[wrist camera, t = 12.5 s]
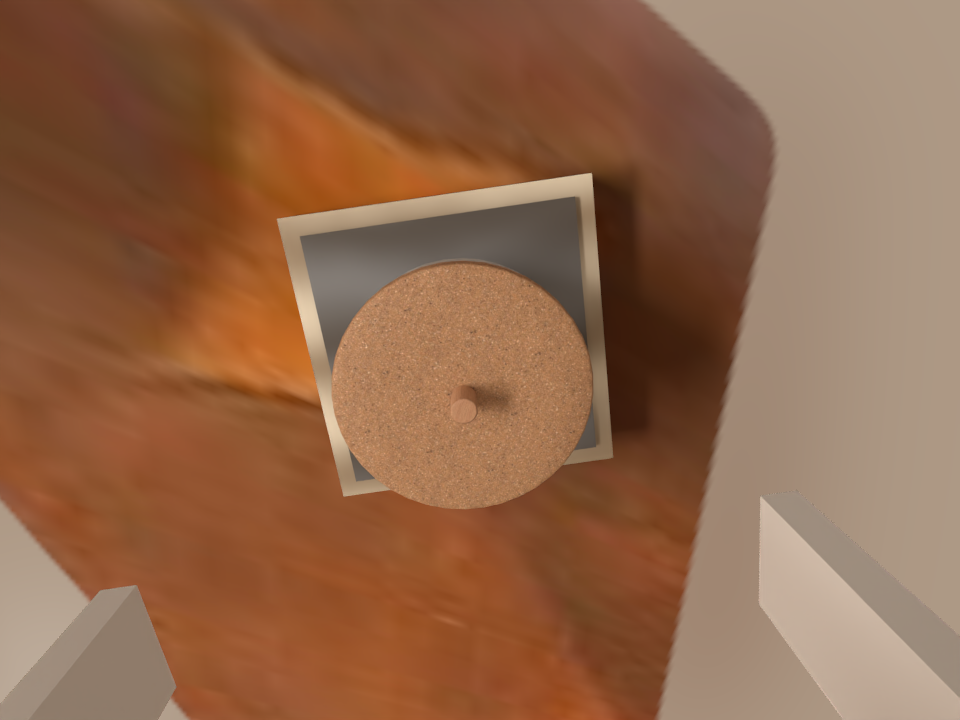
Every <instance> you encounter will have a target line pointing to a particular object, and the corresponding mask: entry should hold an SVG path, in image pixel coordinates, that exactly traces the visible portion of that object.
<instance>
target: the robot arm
mask: <svg viewBox="0 0 960 720" xmlns="http://www.w3.org/2000/svg"><path fill="white" fill-rule="evenodd" d="M759 563H760V564H759V605H760V606H761V607H762V609H763V610H764V611H765V613H766V614H767V616H768V617H769V618H770V620H771V621H772V622H773V624H774V625H775V627H776V628H777V629H778V631H779V632H780V634H781V635H782V636H783V637H784V639H785V640H786V642H787V643H788V645H789V646H790V647H791V649H792V650H793V651H794V653H795V654H796V655H797V657H798V658H799V660H800V661H801V663H802V664H803V665H804V667H805V668H806V669H807V671H808V672H809V673H810V675H811V676H812V678H813V679H814V680H815V681H816V683H817V685H818V686H819V687H820V689H821V690H822V691H823V693H824V694H825V696H826V697H827V698H828V700H829V701H830V702H831V704H832V705H833V707H834V708H835V709H836V711H837V712H838V714H839V715H840V716H841V718H842V719H843V720H960V636H959V635H958V634H957V633H956V632H955V631H954V630H953V629H952V628H950V627H949V626H948V625H947V624H946V623H945V622H944V621H943V620H941V618H939V617H938V616H937V615H936V614H935V613H934V612H933V611H932V610H930V609H929V608H928V607H927V606H926V605H925V604H924V603H923V602H921V601H920V600H919V599H918V598H917V597H916V596H915V595H914V594H912V593H911V592H910V591H909V590H908V589H907V588H906V587H905V586H904V585H902V584H901V583H900V582H899V581H898V580H897V579H896V578H894V577H893V576H892V575H891V574H890V573H889V572H888V571H887V570H886V569H884V568H883V567H882V566H881V565H880V564H879V563H878V562H877V561H875V560H874V559H873V558H872V557H871V556H870V555H869V554H868V553H866V552H865V551H864V550H863V549H862V548H861V547H860V546H859V545H857V544H856V543H855V542H854V541H853V540H852V539H851V538H850V537H849V536H847V535H846V534H845V533H844V532H843V531H842V530H841V529H840V528H838V527H837V526H836V525H835V524H834V523H833V522H832V521H831V520H829V519H828V518H827V517H826V516H825V515H824V514H823V513H822V512H820V511H819V510H818V509H817V508H816V507H815V506H814V505H813V504H811V503H810V502H809V501H808V500H807V499H806V498H805V497H804V496H803V495H801V494H800V493H799V492H798V491H790V492H783V493H776V494H769V495H762V496H761V498H760V560H759ZM175 688H176V685H175V682H174V679H173V677H172V674H171V672H170V669H169V667H168V664H167V662H166V659H165V656H164V654H163V651H162V649H161V646H160V644H159V641H158V638H157V636H156V633H155V631H154V628H153V626H152V623H151V621H150V618H149V615H148V613H147V610H146V608H145V605H144V603H143V600H142V598H141V595H140V592H139V590H138V587H137V585H135V586H128V587H121V588H114V589H107V590H100V591H99V593H98V594H97V595H96V596H95V597H94V598H93V599H92V600H91V602H90V603H89V604H88V605H87V606H86V607H85V609H84V610H83V611H82V612H81V613H80V614H79V615H78V616H77V618H76V619H75V620H74V621H73V622H72V623H71V624H70V625H69V626H68V628H67V629H66V630H65V631H64V632H63V633H62V634H61V636H60V637H59V638H58V639H57V640H56V641H55V642H54V644H53V645H52V646H51V647H50V648H49V649H48V650H47V651H46V653H45V654H44V655H43V656H42V657H41V658H40V659H39V660H38V662H37V663H36V664H35V665H34V666H33V667H32V668H31V669H30V671H29V672H28V673H27V674H26V675H25V676H24V677H23V679H22V680H21V681H20V682H19V683H18V684H17V685H16V687H15V688H14V689H13V690H12V691H11V692H10V693H9V694H8V696H7V697H6V698H5V699H4V700H3V701H2V702H1V703H0V720H158V719H159V717H160V715H161V713H162V711H163V710H164V708H165V706H166V704H167V703H168V701H169V699H170V697H171V696H172V694H173V692H174V690H175Z"/></svg>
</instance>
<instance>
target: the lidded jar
mask: <svg viewBox="0 0 960 720" xmlns="http://www.w3.org/2000/svg"><path fill="white" fill-rule="evenodd" d="M592 399H593V371H592V365H591V360H590V355H589V352H588V349H587V346H586V344H585V341H584V338H583V336H582V334H581V332H580V330H579V329H578V327H577V325H576V323H575V322H574V320H573V318H572V317H571V316H570V315H569V313H568V312H567V311H566V310H565V308H564V307H563V306H562V305H561V304H560V302H559V301H558V300H557V299H556V298H554V297H553V296H552V295H551V294H550V293H549V292H548V291H547V290H545V289H544V288H543V287H542V286H540V285H539V284H537V283H536V282H534V281H532V280H531V279H529V278H528V277H526V276H524V275H522V274H521V273H519V272H517V271H515V270H513V269H510V268H508V267H506V266H503V265H501V264H498V263H493V262H489V261H485V260H480V259H468V258H457V259H444V260H440V261H436V262H431V263H427V264H424V265H422V266H419V267H417V268H414V269H412V270H410V271H407V272H406V273H404V274H403V275H401V276H399V277H398V278H396V279H395V280H393V281H392V282H390V283H388V284H387V285H385V286H384V287H382V288H381V289H380V290H379V291H378V292H377V293H376V294H374V295H373V296H372V297H371V298H370V299H369V300H368V301H367V302H366V303H365V304H364V305H363V307H362V308H361V309H360V310H359V312H358V313H357V314H356V315H355V316H354V318H353V319H352V321H351V322H350V324H349V326H348V328H347V330H346V331H345V333H344V335H343V337H342V339H341V342H340V344H339V347H338V350H337V353H336V355H335V360H334V366H333V371H332V401H333V408H334V414H335V417H336V420H337V423H338V426H339V429H340V432H341V434H342V436H343V438H344V440H345V442H346V444H347V445H348V447H349V449H350V451H351V452H352V453H353V455H354V456H355V457H356V459H357V460H358V461H359V463H360V464H361V465H362V466H363V467H364V468H365V469H366V470H367V471H368V472H369V473H370V474H371V475H372V476H373V477H374V478H375V479H377V480H378V481H380V482H381V483H382V484H384V485H385V486H386V487H388V488H389V489H391V490H393V491H395V492H397V493H399V494H400V495H402V496H404V497H406V498H409V499H411V500H414V501H417V502H420V503H423V504H426V505H431V506H436V507H441V508H452V509H472V508H483V507H488V506H492V505H496V504H501V503H504V502H507V501H509V500H512V499H514V498H517V497H520V496H522V495H523V494H525V493H527V492H529V491H531V490H532V489H534V488H536V487H538V486H539V485H540V484H541V483H543V482H544V481H545V480H547V479H548V478H549V477H551V476H552V475H553V474H554V473H555V472H556V471H557V470H558V469H559V468H560V467H561V466H562V465H563V464H564V463H565V462H566V460H567V459H568V457H569V456H570V455H571V453H572V452H573V450H574V449H575V448H576V446H577V444H578V442H579V440H580V438H581V436H582V434H583V432H584V430H585V427H586V424H587V421H588V418H589V415H590V412H591V405H592Z"/></svg>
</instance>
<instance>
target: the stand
mask: <svg viewBox="0 0 960 720" xmlns="http://www.w3.org/2000/svg"><path fill="white" fill-rule="evenodd" d="M277 221H278V225H279V230H280V234H281V238H282V242H283V246H284V250H285V254H286V259H287V263H288V267H289V271H290V275H291V279H292V284H293V288H294V292H295V296H296V300H297V304H298V309H299V313H300V317H301V321H302V325H303V329H304V333H305V338H306V342H307V346H308V350H309V354H310V358H311V363H312V367H313V371H314V375H315V379H316V383H317V387H318V392H319V396H320V400H321V404H322V408H323V412H324V417H325V421H326V425H327V429H328V433H329V437H330V442H331V446H332V450H333V454H334V458H335V462H336V466H337V471H338V475H339V479H340V483H341V487H342V491H343V496H350V495H357V494H364V493H371V492H378V491H385V490H391V489H389V488H388V487H386V486H385V485H384V484H382V483H381V482H380V481H378V480H377V479H375V478H374V477H373V476H372V475H371V474H370V473H369V472H368V471H367V470H366V469H365V468H364V467H363V466H362V465H361V464H360V463H359V461H358V460H357V459H356V457H355V456H354V455H353V453H352V452H351V451H350V449H349V447H348V445H347V444H346V442H345V440H344V438H343V436H342V434H341V432H340V429H339V426H338V423H337V420H336V417H335V414H334V408H333V401H332V371H333V366H334V360H335V355H336V353H337V350H338V347H339V344H340V342H341V339H342V337H343V335H344V333H345V331H346V330H347V328H348V326H349V324H350V322H351V321H352V319H353V318H354V316H355V315H356V314H357V313H358V312H359V310H360V309H361V308H362V307H363V305H364V304H365V303H366V302H367V301H368V300H369V299H370V298H371V297H372V296H373V295H374V294H376V293H377V292H378V291H379V290H380V289H381V288H382V287H384V286H385V285H387V284H388V283H390V282H392V281H393V280H395V279H396V278H398V277H399V276H401V275H403V274H404V273H406V272H407V271H410V270H412V269H414V268H417V267H419V266H422V265H424V264H427V263H431V262H436V261H440V260H444V259H457V258H468V259H480V260H485V261H489V262H493V263H498V264H501V265H503V266H506V267H508V268H510V269H513V270H515V271H517V272H519V273H521V274H522V275H524V276H526V277H528V278H529V279H531V280H532V281H534V282H536V283H537V284H539V285H540V286H542V287H543V288H544V289H545V290H547V291H548V292H549V293H550V294H551V295H552V296H553V297H554V298H556V299H557V300H558V301H559V302H560V304H561V305H562V306H563V307H564V308H565V310H566V311H567V312H568V313H569V315H570V316H571V317H572V318H573V320H574V322H575V323H576V325H577V327H578V329H579V330H580V332H581V334H582V336H583V338H584V341H585V344H586V346H587V349H588V352H589V355H590V360H591V365H592V371H593V399H592V405H591V412H590V415H589V418H588V421H587V424H586V427H585V430H584V432H583V434H582V436H581V438H580V440H579V442H578V444H577V446H576V448H575V449H574V450H573V452H572V453H571V455H570V456H569V457H568V459H567V460H566V462H565V463H564V464H563V465H566V464H573V463H580V462H587V461H594V460H601V459H608V458H613V449H612V435H611V422H610V409H609V395H608V382H607V368H606V355H605V342H604V328H603V315H602V302H601V288H600V275H599V261H598V248H597V235H596V221H595V208H594V194H593V181H592V173H588V174H580V175H573V176H566V177H559V178H552V179H545V180H538V181H532V182H525V183H518V184H511V185H504V186H497V187H490V188H483V189H477V190H470V191H463V192H456V193H449V194H442V195H435V196H428V197H422V198H415V199H408V200H401V201H394V202H387V203H380V204H374V205H367V206H360V207H353V208H346V209H339V210H332V211H325V212H319V213H312V214H305V215H298V216H291V217H285V218H279V219H277Z"/></svg>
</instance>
